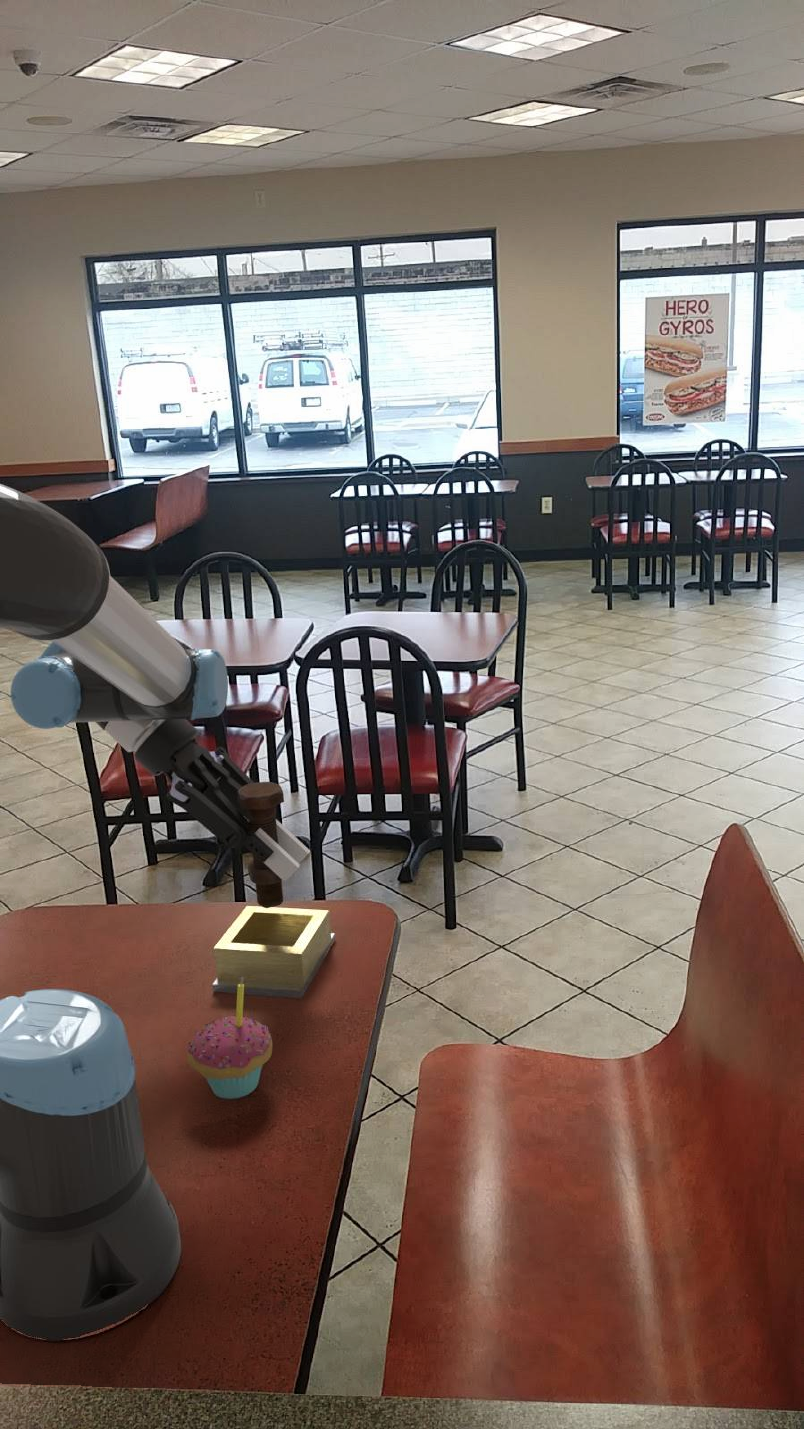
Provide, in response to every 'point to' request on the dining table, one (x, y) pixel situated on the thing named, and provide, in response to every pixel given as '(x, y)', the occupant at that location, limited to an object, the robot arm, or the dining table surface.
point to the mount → (272, 951)
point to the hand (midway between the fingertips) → (297, 865)
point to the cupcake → (231, 1052)
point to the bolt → (263, 815)
